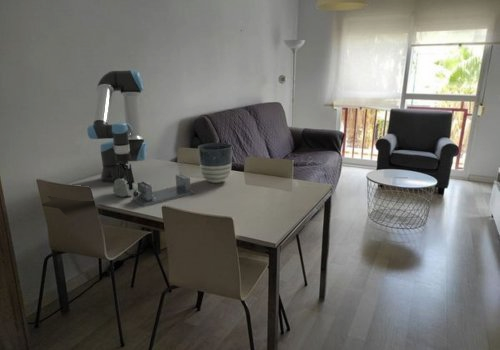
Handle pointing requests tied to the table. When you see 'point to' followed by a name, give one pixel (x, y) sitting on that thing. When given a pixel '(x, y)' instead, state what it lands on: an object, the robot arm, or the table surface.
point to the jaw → (144, 191)
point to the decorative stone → (122, 187)
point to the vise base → (169, 192)
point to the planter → (215, 161)
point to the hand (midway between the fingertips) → (126, 192)
